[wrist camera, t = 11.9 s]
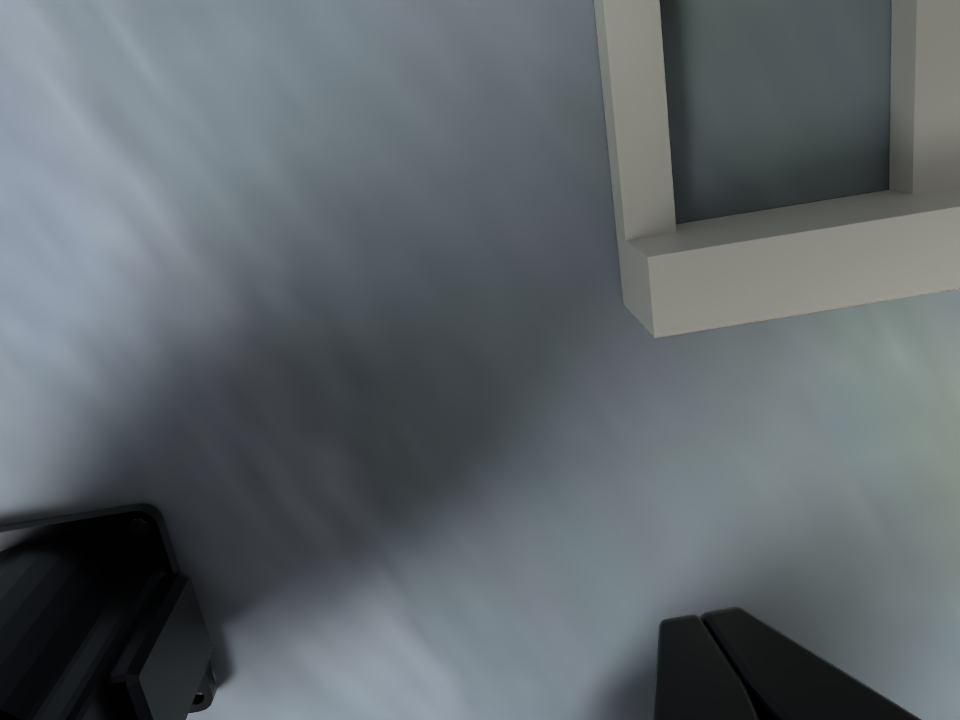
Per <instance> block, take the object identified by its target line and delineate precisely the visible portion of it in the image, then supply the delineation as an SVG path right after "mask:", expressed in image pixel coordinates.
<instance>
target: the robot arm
mask: <svg viewBox="0 0 960 720" xmlns="http://www.w3.org/2000/svg"><path fill="white" fill-rule="evenodd" d="M135 519H142V520H143V521H145V522H146V523H147V524H148V526H149V528H147V529H146V528H141V527H139V526H137V525H136V523H135ZM211 655H212V647H211V643H210V640H209V637H208V634H207V631H206V628H205V624H204V621H203V618H202V615H201V612H200V608H199V605H198V602H197V599H196V596H195V593H194V589H193V586H192V583H191V580H190V578H189V577H187V576H186V575H185V574H184V573H182V572H180V569H179V566H178V563H177V560H176V556H175V553H174V550H173V547H172V544H171V541H170V538H169V534H168V531H167V528H166V525H165V522H164V519H163V516H162V514H161V513H160V511H159V510H158V509H157V508H155V507H154V506H152V505H149V504H145V503H138V504H132V505H126V506H120V507H114V508H108V509H101V510H95V511H89V512H83V513H77V514H71V515H65V516H58V517H52V518H46V519H40V520H34V521H28V522H21V523H15V524H9V525H3V526H0V720H186V717H187V715H188V713H193V712H199V711H202V710H205V709H207V708H208V707H209V706H210V705H211V703H212V701H213V698H214V696H215V693H216V690H217V689H216V682H215V679H214V676H213V673H212V670H211V667H210V663H209V660H210V658H211ZM197 690H198V691H200V692H202V695H199V694H196V692H197ZM652 720H921V719H920V718H918V717H916V716H915V715H913V714H912V713H910V712H908V711H907V710H905V709H904V708H902V707H900V706H899V705H897V704H895V703H894V702H892V701H891V700H889V699H887V698H886V697H884V696H883V695H881V694H879V693H878V692H876V691H874V690H873V689H871V688H870V687H868V686H866V685H865V684H863V683H862V682H860V681H858V680H857V679H855V678H853V677H852V676H850V675H849V674H847V673H845V672H844V671H842V670H841V669H839V668H837V667H836V666H834V665H833V664H831V663H829V662H828V661H826V660H824V659H823V658H821V657H820V656H818V655H816V654H815V653H813V652H812V651H810V650H808V649H807V648H805V647H803V646H802V645H800V644H799V643H797V642H795V641H794V640H792V639H791V638H789V637H787V636H786V635H784V634H782V633H781V632H779V631H778V630H776V629H774V628H773V627H771V626H770V625H768V624H766V623H765V622H763V621H761V620H760V619H758V618H757V617H755V616H753V615H752V614H750V613H749V612H747V611H745V610H743V609H741V608H738V607H731V608H726V609H720V610H715V611H709V612H705V613H703V614H702V616H701V617H699V616H696V615H686V616H681V617H675V618H669V619H665V620H663V621H661V623H660V625H659V637H658V650H657V664H656V678H655V691H654V705H653V719H652Z"/></svg>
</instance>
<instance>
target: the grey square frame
mask: <svg viewBox="0 0 960 720" xmlns="http://www.w3.org/2000/svg"><path fill="white" fill-rule="evenodd" d="M594 8H595V19H596V29H597V39H598V49H599V60H600V70H601V80H602V91H603V101H604V111H605V121H606V132H607V142H608V152H609V162H610V173H611V183H612V193H613V203H614V214H615V224H616V234H617V244H618V255H619V265H620V275H621V285H622V296H623V304H624V305H625V307H626V308H627V309H628V310H629V311H630V312H631V313H632V314H633V315H634V316H635V317H636V319H637V320H638V321H639V322H640V323H641V324H642V325H643V326H644V327H645V328H646V330H647V331H648V332H649V333H650V334H651V335H652V336H653V337H654V338H659V337H665V336H671V335H677V334H683V333H690V332H696V331H702V330H708V329H714V328H720V327H727V326H733V325H739V324H745V323H751V322H757V321H764V320H770V319H776V318H782V317H788V316H794V315H801V314H807V313H813V312H819V311H825V310H831V309H838V308H844V307H850V306H856V305H862V304H868V303H875V302H881V301H887V300H893V299H899V298H905V297H912V296H918V295H924V294H930V293H936V292H942V291H949V290H955V289H960V0H892V22H891V99H890V176H889V190H885V191H879V192H872V193H866V194H860V195H854V196H848V197H841V198H835V199H829V200H823V201H817V202H811V203H804V204H798V205H792V206H786V207H780V208H773V209H767V210H761V211H755V212H749V213H743V214H736V215H730V216H724V217H718V218H712V219H705V220H699V221H693V222H687V223H681V224H676V220H675V206H674V193H673V179H672V165H671V152H670V138H669V124H668V111H667V97H666V83H665V70H664V56H663V42H662V29H661V15H660V1H659V0H594Z"/></svg>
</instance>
